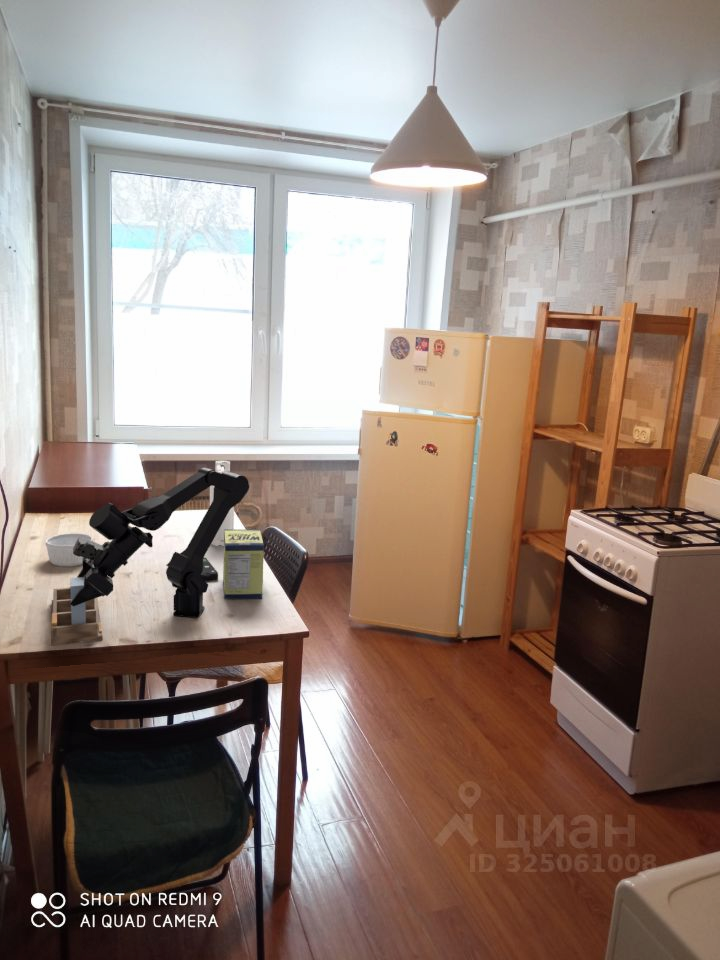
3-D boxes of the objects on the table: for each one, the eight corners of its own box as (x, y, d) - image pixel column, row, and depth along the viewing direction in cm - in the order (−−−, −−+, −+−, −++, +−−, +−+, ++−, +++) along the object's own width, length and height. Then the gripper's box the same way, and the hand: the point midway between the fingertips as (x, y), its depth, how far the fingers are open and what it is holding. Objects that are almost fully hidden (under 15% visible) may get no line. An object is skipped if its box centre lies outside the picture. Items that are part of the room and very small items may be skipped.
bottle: (236, 540, 244) (238, 460, 239) (228, 547, 237) (230, 465, 231) (214, 538, 246) (215, 458, 240) (205, 544, 238) (206, 462, 232)
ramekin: (41, 568, 207) (41, 545, 206) (51, 554, 220) (50, 532, 218) (89, 568, 210) (89, 545, 208) (96, 554, 222) (96, 532, 221)
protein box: (258, 579, 209) (260, 528, 206) (262, 599, 194) (264, 544, 191) (222, 580, 207) (223, 528, 203) (224, 600, 192) (225, 545, 189)
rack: (97, 599, 187) (96, 583, 186) (102, 639, 164) (102, 621, 163) (51, 603, 182) (51, 586, 181) (50, 645, 160) (50, 626, 159)
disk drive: (218, 582, 207) (205, 565, 219) (219, 572, 206) (205, 556, 219) (183, 585, 202) (171, 568, 215) (183, 576, 201) (171, 559, 214)
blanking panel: (85, 624, 169) (84, 577, 166) (86, 634, 164) (85, 585, 162) (71, 626, 168) (70, 578, 165) (72, 635, 163) (70, 586, 160)
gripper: (92, 516, 171) (44, 562, 169) (96, 538, 154) (42, 590, 152) (127, 545, 175) (80, 591, 173) (134, 570, 158) (82, 621, 157)
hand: (71, 597), depth 164 cm, fingers open, 9 cm apart
